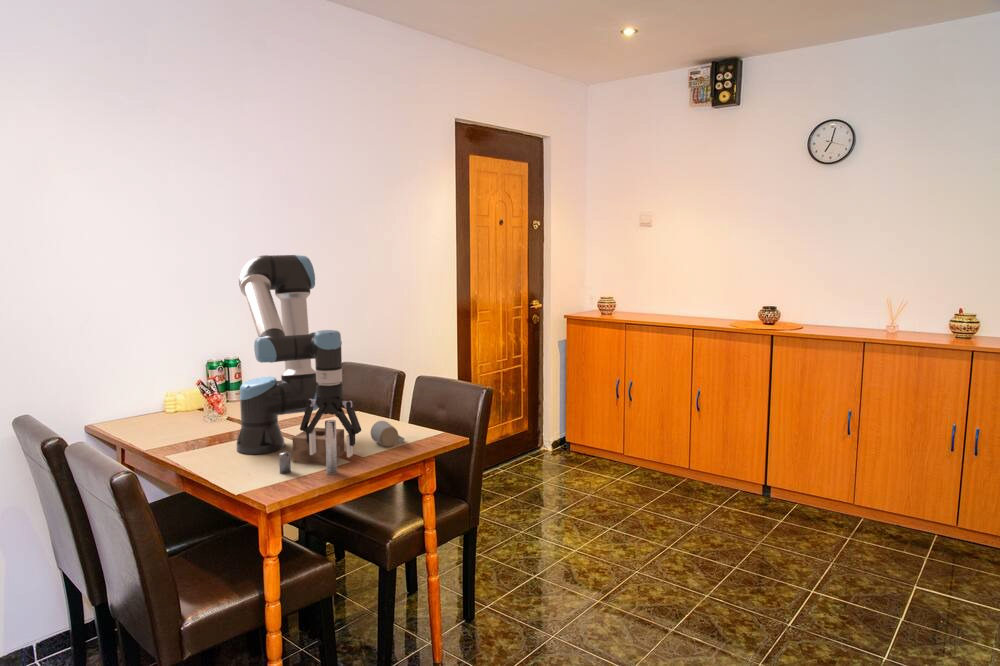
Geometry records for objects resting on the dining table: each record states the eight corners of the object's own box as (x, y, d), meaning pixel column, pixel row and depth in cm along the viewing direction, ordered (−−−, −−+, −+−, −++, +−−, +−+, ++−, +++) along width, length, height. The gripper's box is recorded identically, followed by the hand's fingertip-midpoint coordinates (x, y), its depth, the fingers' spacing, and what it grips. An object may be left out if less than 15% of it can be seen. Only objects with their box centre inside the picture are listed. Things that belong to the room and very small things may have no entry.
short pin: (277, 473, 200) (277, 454, 199) (283, 470, 203) (282, 451, 203) (287, 474, 200) (286, 455, 199) (292, 470, 203) (292, 451, 202)
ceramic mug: (380, 449, 224) (380, 427, 223) (370, 443, 231) (370, 421, 230) (408, 444, 230) (408, 423, 229) (397, 439, 237) (398, 417, 236)
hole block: (293, 462, 211) (292, 437, 210) (310, 450, 222) (309, 427, 221) (329, 464, 209) (328, 439, 208) (344, 452, 220) (344, 429, 219)
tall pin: (324, 474, 200) (322, 422, 198) (329, 470, 203) (327, 419, 201) (334, 475, 199) (333, 422, 197) (339, 471, 202) (337, 420, 200)
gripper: (286, 383, 196) (288, 456, 199) (362, 387, 192) (363, 461, 195) (298, 378, 203) (300, 448, 206) (371, 382, 199) (373, 453, 202)
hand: (331, 454), depth 200 cm, fingers open, 11 cm apart
